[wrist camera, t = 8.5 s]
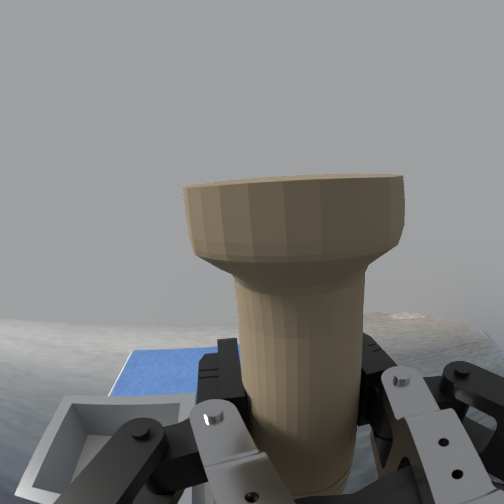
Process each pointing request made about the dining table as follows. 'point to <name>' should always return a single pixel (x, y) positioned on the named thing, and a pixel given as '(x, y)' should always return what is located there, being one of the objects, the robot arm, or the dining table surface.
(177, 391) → the tablet computer
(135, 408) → the open box
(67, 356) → the dining table surface
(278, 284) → the handle
